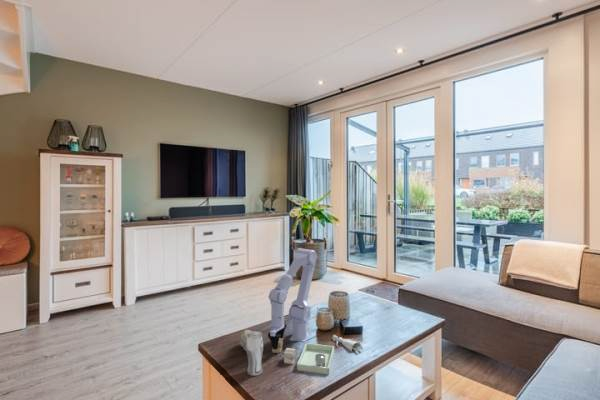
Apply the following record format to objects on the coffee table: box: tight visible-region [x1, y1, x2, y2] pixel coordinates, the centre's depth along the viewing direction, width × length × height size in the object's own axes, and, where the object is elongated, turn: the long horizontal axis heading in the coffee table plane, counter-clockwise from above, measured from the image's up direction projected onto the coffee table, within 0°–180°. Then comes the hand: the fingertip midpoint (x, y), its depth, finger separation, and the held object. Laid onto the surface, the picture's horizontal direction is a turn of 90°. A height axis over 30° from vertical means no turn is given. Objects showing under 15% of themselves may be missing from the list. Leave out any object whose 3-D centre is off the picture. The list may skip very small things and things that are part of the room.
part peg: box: [315, 354, 325, 367], centre depth 127 cm, size 4×4×5 cm
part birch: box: [283, 347, 297, 365], centre depth 133 cm, size 4×4×5 cm
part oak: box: [271, 337, 284, 354], centre depth 142 cm, size 4×4×5 cm
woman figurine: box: [331, 334, 364, 353], centre depth 147 cm, size 12×4×18 cm
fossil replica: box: [239, 329, 254, 352], centre depth 144 cm, size 12×8×10 cm
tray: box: [296, 342, 335, 376], centre depth 133 cm, size 18×13×3 cm
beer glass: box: [245, 330, 264, 377], centre depth 126 cm, size 7×7×15 cm
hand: (277, 344), depth 142 cm, fingers open, 7 cm apart
